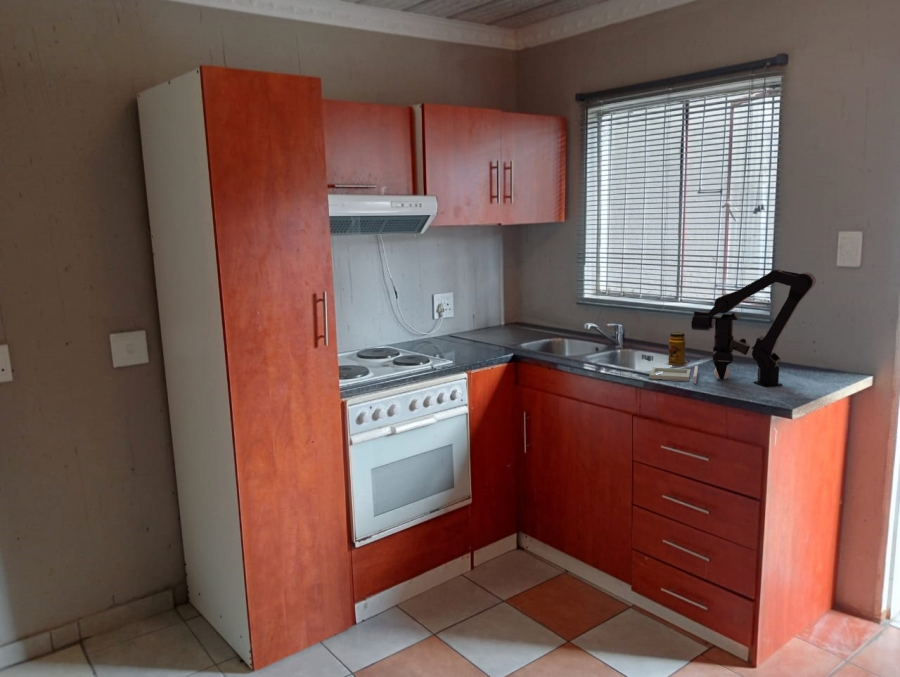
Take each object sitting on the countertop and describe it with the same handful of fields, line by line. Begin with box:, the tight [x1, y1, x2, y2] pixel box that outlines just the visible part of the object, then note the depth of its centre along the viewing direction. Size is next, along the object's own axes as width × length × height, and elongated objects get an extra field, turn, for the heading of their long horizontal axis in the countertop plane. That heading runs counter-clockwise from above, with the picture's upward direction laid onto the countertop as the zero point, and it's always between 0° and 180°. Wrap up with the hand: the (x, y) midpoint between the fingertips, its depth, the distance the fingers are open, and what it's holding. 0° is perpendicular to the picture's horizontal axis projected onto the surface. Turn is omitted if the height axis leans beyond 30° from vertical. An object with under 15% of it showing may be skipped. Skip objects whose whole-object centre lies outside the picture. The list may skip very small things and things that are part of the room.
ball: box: [713, 366, 731, 380], centre depth 237 cm, size 5×5×5 cm
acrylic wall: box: [692, 365, 699, 384], centre depth 240 cm, size 18×1×2 cm, turn 159°
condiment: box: [666, 331, 689, 367], centre depth 264 cm, size 7×8×12 cm
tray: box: [649, 367, 691, 382], centre depth 243 cm, size 13×13×2 cm
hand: (721, 376), depth 237 cm, fingers open, 9 cm apart
